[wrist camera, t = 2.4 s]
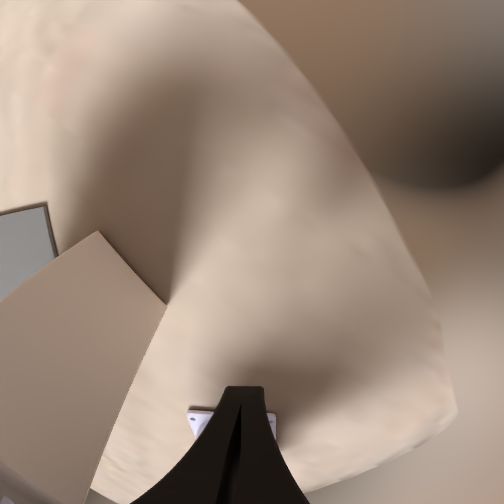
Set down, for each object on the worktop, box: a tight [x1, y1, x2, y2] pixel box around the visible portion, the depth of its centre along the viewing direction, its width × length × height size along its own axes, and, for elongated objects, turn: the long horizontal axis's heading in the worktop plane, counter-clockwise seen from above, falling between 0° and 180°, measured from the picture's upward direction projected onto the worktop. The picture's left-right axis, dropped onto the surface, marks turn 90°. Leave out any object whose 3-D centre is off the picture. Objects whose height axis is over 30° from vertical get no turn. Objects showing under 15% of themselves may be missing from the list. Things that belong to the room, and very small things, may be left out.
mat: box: [0, 206, 58, 300], centre depth 20 cm, size 14×20×1 cm
